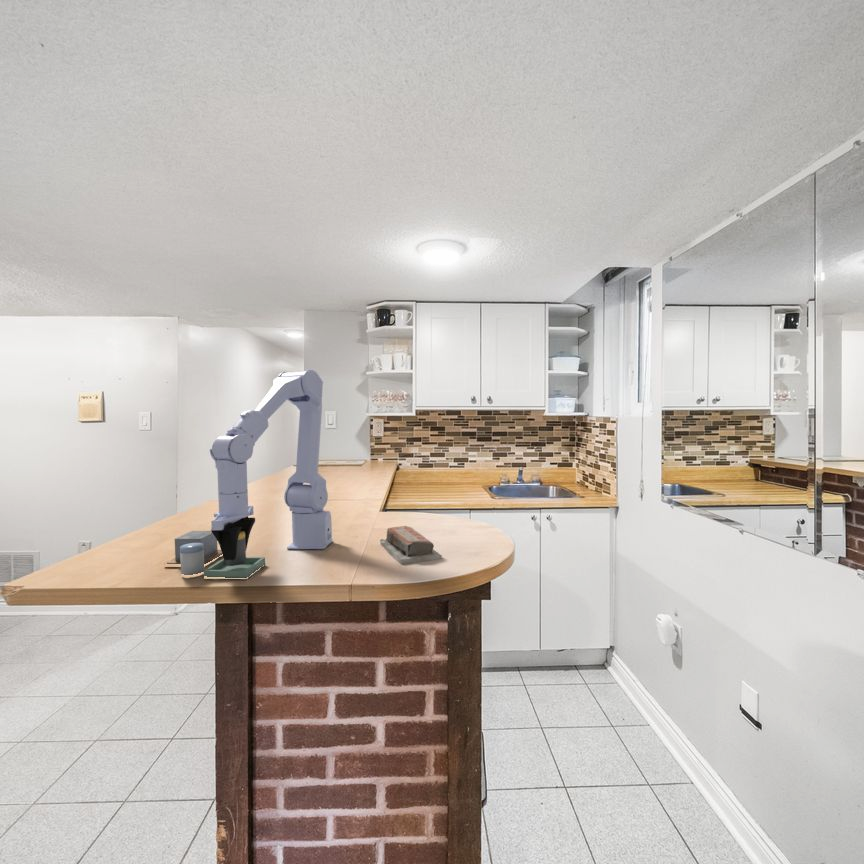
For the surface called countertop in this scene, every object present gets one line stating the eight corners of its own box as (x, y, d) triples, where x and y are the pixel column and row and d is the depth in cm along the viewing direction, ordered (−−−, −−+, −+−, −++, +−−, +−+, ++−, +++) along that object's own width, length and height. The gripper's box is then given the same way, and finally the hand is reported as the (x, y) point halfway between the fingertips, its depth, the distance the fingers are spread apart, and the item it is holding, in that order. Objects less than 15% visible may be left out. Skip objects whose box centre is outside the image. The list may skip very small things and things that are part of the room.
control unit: (227, 553, 112) (226, 529, 112) (204, 567, 102) (203, 540, 102) (190, 553, 112) (189, 529, 112) (164, 567, 102) (163, 540, 102)
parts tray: (265, 565, 103) (265, 557, 103) (247, 579, 94) (246, 570, 94) (225, 565, 103) (225, 557, 103) (203, 579, 94) (203, 570, 94)
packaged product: (378, 526, 118) (415, 523, 122) (379, 545, 118) (416, 541, 122) (400, 545, 101) (442, 539, 105) (400, 566, 101) (442, 561, 105)
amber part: (249, 559, 100) (248, 530, 100) (239, 565, 96) (238, 536, 96) (230, 559, 101) (229, 530, 100) (219, 565, 96) (218, 536, 96)
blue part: (208, 571, 99) (207, 542, 99) (197, 578, 95) (196, 548, 95) (188, 571, 100) (187, 542, 99) (176, 578, 95) (175, 548, 95)
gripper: (231, 486, 105) (233, 546, 106) (195, 498, 91) (198, 567, 91) (261, 486, 105) (263, 545, 105) (230, 498, 90) (232, 567, 91)
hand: (235, 555), depth 98 cm, fingers closed on amber part, 4 cm apart
